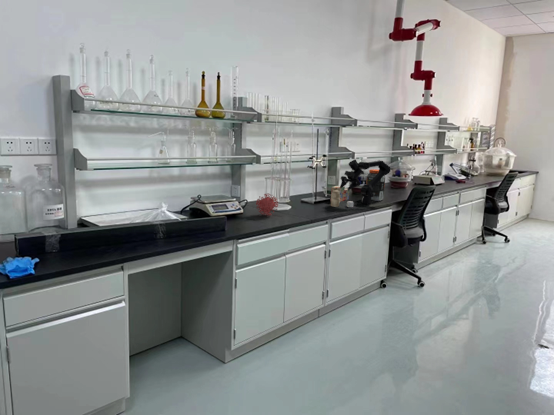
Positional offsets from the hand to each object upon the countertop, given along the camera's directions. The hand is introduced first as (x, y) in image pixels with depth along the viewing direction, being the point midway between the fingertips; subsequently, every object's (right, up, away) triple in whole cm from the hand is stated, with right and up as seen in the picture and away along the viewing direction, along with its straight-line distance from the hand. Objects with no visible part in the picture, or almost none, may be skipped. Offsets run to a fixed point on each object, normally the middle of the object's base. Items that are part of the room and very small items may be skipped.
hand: (344, 188), depth 328 cm
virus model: (-60, -20, -47) cm, 79 cm away
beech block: (-8, -14, -2) cm, 16 cm away
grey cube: (+4, -14, -1) cm, 15 cm away
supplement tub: (+33, -8, +39) cm, 51 cm away
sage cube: (-5, -12, +10) cm, 16 cm away
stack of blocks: (+1, -9, +26) cm, 27 cm away
